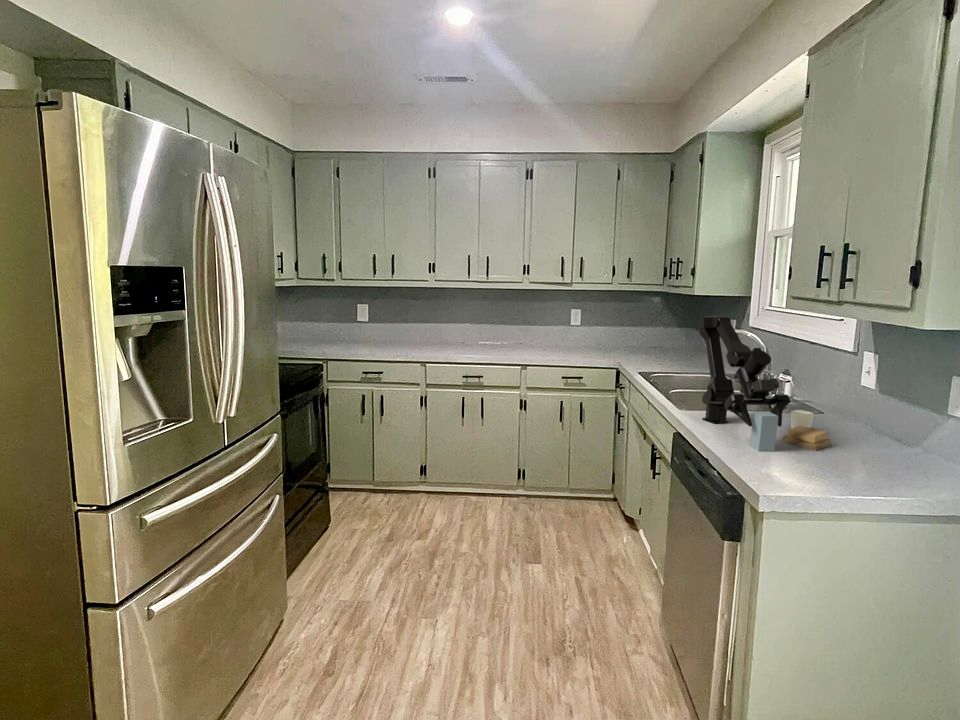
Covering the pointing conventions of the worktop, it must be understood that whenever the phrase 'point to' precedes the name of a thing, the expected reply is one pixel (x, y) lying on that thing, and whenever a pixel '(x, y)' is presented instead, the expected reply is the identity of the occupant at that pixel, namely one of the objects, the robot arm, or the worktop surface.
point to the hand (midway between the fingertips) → (765, 426)
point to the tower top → (807, 434)
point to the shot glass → (801, 418)
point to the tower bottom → (806, 443)
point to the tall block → (764, 431)
